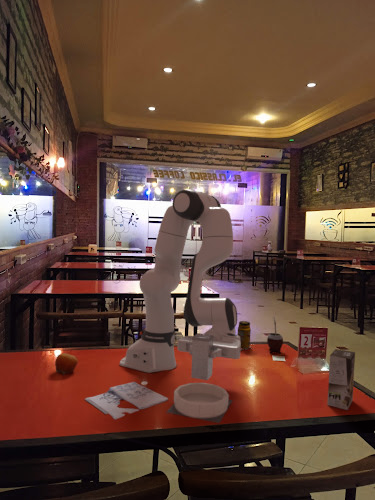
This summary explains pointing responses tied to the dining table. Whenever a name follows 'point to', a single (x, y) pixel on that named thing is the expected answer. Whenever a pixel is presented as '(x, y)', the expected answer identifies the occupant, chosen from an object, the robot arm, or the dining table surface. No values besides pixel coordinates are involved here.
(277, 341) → the mate gourd
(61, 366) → the fruit
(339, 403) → the coffee box
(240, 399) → the dining table surface
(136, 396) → the printed paper sheets
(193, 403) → the bowl
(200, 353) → the tin
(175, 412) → the mat
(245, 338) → the condiment
